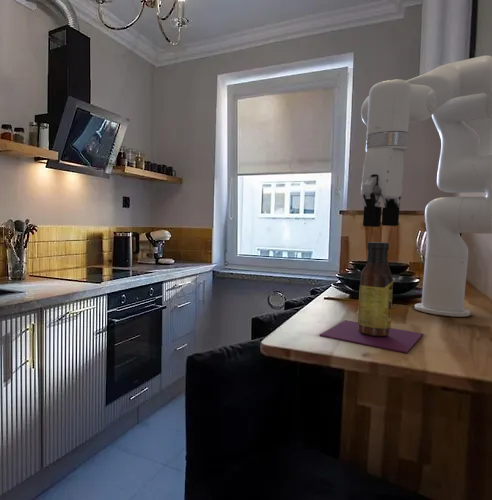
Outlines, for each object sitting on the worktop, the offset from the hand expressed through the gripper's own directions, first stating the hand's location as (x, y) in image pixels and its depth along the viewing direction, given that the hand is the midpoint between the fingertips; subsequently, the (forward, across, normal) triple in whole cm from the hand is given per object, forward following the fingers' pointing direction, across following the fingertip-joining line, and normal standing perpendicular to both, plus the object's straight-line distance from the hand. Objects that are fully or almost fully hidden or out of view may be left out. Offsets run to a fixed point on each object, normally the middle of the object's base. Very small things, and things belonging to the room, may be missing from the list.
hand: (381, 226), depth 90 cm
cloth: (+24, +1, 0) cm, 24 cm away
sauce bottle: (+24, 0, 0) cm, 24 cm away
